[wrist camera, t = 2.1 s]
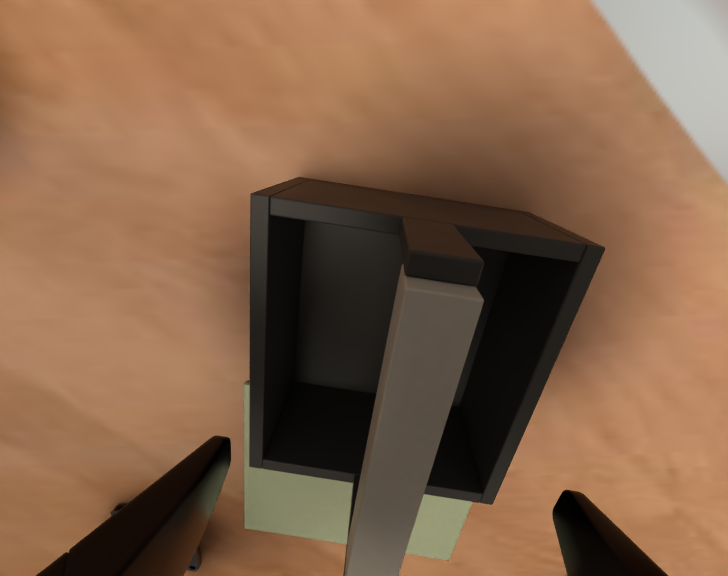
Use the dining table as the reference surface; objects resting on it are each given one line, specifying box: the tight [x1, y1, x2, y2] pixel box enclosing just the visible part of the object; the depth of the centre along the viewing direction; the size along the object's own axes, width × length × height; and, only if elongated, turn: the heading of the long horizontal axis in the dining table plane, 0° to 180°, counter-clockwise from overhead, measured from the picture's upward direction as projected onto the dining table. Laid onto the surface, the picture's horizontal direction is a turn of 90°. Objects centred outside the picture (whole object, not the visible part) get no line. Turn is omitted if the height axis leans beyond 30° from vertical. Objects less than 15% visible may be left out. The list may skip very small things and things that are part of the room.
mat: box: [244, 382, 472, 560], centre depth 23 cm, size 14×16×1 cm
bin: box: [249, 177, 605, 576], centre depth 13 cm, size 12×11×10 cm
